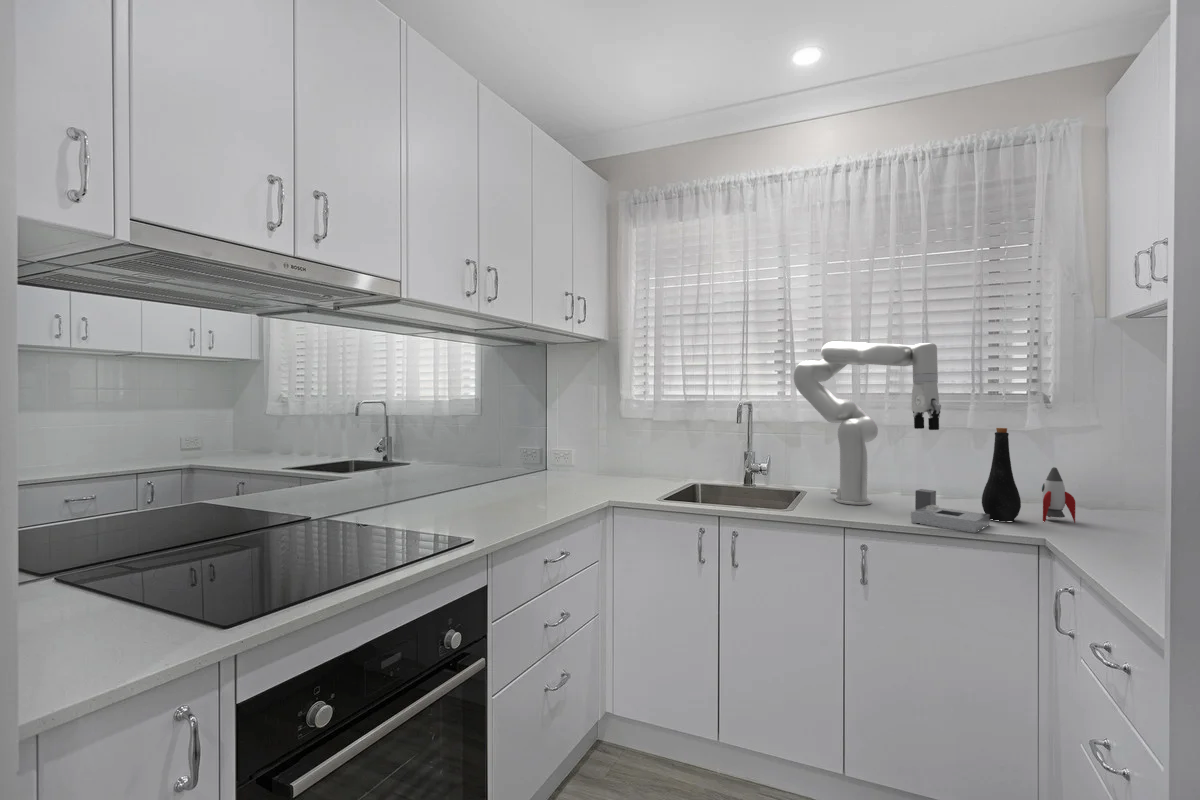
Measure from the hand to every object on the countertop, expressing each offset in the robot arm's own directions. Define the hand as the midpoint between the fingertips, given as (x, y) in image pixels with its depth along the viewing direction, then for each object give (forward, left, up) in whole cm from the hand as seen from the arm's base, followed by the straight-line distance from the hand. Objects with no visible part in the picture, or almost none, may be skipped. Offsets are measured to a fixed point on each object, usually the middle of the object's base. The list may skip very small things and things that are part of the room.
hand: (926, 429), depth 202 cm
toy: (+33, +18, -29) cm, 48 cm away
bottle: (+20, +7, -29) cm, 36 cm away
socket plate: (+11, -12, -29) cm, 33 cm away
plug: (0, 0, -29) cm, 29 cm away
